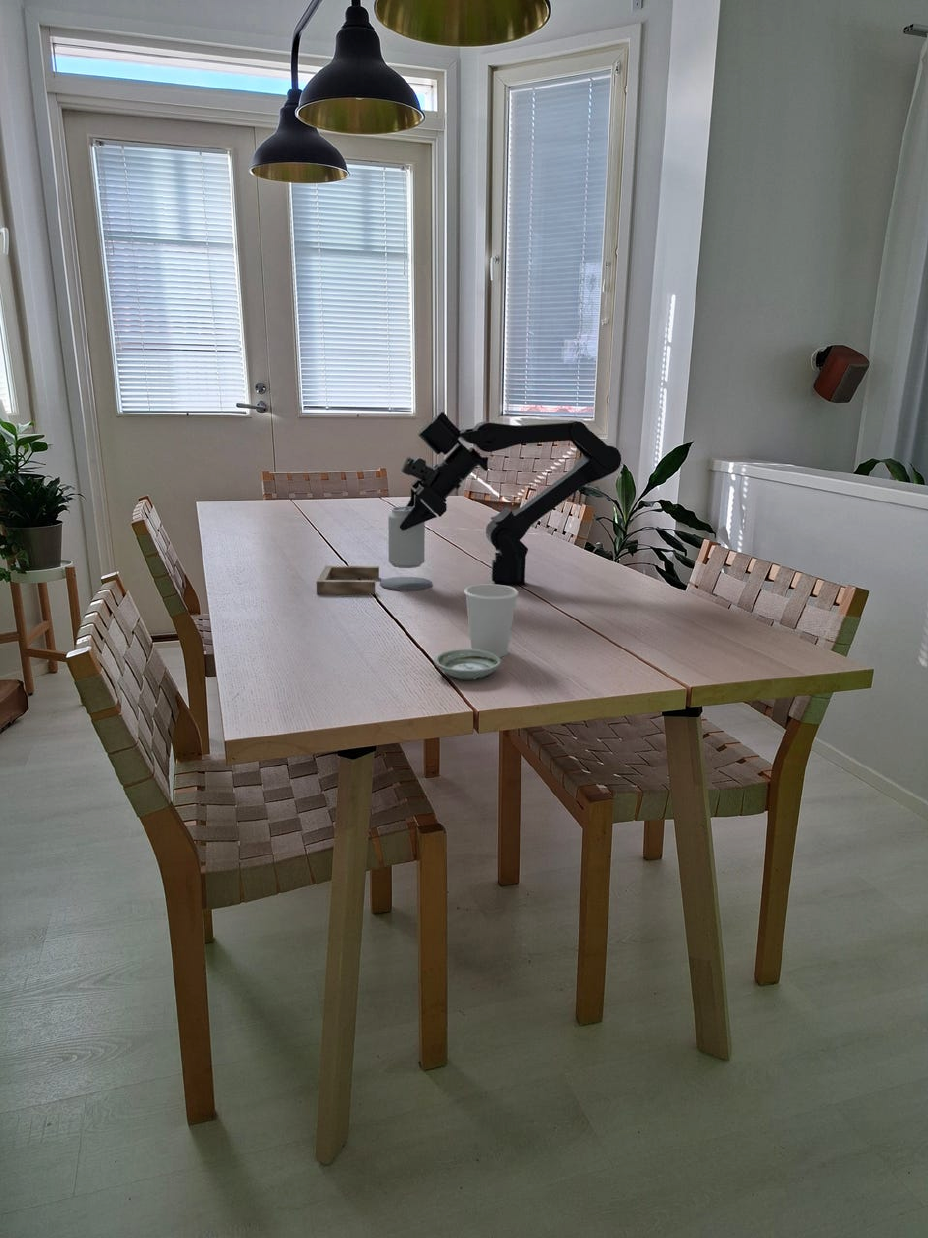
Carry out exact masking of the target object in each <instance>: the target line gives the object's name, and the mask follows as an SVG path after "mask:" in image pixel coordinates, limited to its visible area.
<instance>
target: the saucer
mask: <svg viewBox="0 0 928 1238" xmlns="http://www.w3.org/2000/svg"><path fill="white" fill-rule="evenodd" d="M433 662H434V665H435V666H436V667H438V668H439V670H441V671H442V672H444V674H446V675H448V676H451V677H453V678H456V679H458V678H461V679H460V680H465V679H472V680H475V679H474V678H479V679H482V678H483V677H485V676H488V675H490V674H491V673H493V672H495V670H497V669H498V668H499V667H500V666H501V664H502V659H501V658H500V657H498V656H497V655H495V654H493V653H491V652H487V651H483V650H477V649H471V648H458V649H456V648H455V649H450V650H445V651H443V652H441V653H439V654H437V655H436V656H435V657H434V661H433Z"/></svg>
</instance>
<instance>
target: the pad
mask: <svg viewBox="0 0 928 1238" xmlns="http://www.w3.org/2000/svg"><path fill="white" fill-rule="evenodd" d="M379 586H380V587H381V588H383V589H386V590H391V591H398V590H406V591H405V592H408V591H409V592H411V591H410V590H415V591H421V590H426V589H430V588H432V586H433V582H432V580H430V579H427V578H424V577H423V578H422V577H419V576H418V577H416V576H415V577H414V576H396V577H389V578H388V577H387V578H385V579H382V580H380V581H379Z"/></svg>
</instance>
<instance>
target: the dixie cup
mask: <svg viewBox="0 0 928 1238" xmlns="http://www.w3.org/2000/svg"><path fill="white" fill-rule="evenodd" d="M463 594H465V599H466V610H467V619H468V620H467V622H468V630H469V639H470V649H477V650H483V651H487V652H491V653H493V654H495V655H497V656H498V657H499V658H500V657H504V656H506V655H508V651H509V646H510V645H509V644H510V641H511V640H510V639H511V633H512V626H513V621H514V615H515V614H514V613H515V608H516V600H517V596H518V595H519V591H518V590H517V589H516V588H514V587H513V586H504V585H495V583H494V584H491V583H488V584H487V583H486V584H483V583H482V584H475V585H470V586H467V587H466V588H465V589H464V590H463Z"/></svg>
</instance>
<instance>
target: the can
mask: <svg viewBox="0 0 928 1238" xmlns="http://www.w3.org/2000/svg"><path fill="white" fill-rule="evenodd" d="M412 508H413V507H406V506H396V507H392V508H390V509H391V512H390V513H389V514H388V519H387V520H388V522H387V523H388V526H387V527H388V528H387V529H388V533H387V534H388V535H387V536H388V562H389V564H390V565H392V566H393V567H394V568H401V569H415V568H419V567H421V565H422V564H423V563H424V562H425V549H426V548H425V546H426V545H425V544H426V543H425V542H426V541H425V540H426V539H425V537H426V536H425V535H426V534H425V533H426V532H425V530H426V529H425V527H426V526H425V525H426V522H423V523H421V524H418V525H416V526H413V527H411V528H409V529H406V530H404V531H403V530H401V529H400V525H401V524H402V522H403V521H404V519H405V518H406V516H407V515H408V513H409V512H410V511H411V509H412Z"/></svg>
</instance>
